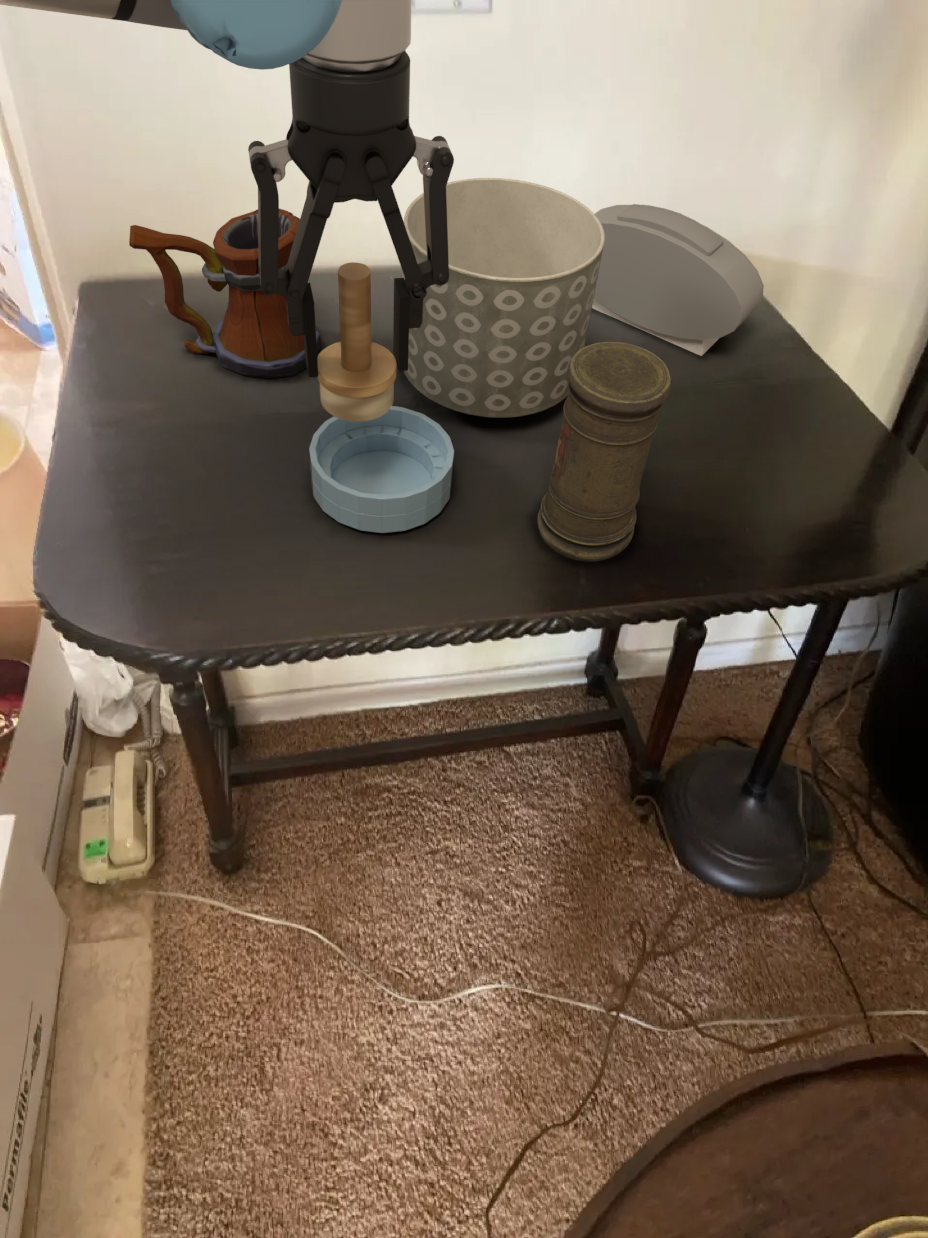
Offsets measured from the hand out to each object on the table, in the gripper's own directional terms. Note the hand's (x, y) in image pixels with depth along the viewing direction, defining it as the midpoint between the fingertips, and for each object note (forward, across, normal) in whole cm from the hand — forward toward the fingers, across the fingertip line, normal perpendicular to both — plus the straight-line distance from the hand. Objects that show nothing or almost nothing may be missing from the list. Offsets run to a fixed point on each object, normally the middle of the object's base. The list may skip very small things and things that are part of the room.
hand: (356, 363), depth 77 cm
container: (+17, -21, +4) cm, 27 cm away
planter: (+17, -16, -19) cm, 30 cm away
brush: (+3, 0, 0) cm, 3 cm away
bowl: (+17, -3, -4) cm, 18 cm away
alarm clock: (+18, -38, -29) cm, 51 cm away
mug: (+17, +10, -28) cm, 34 cm away
